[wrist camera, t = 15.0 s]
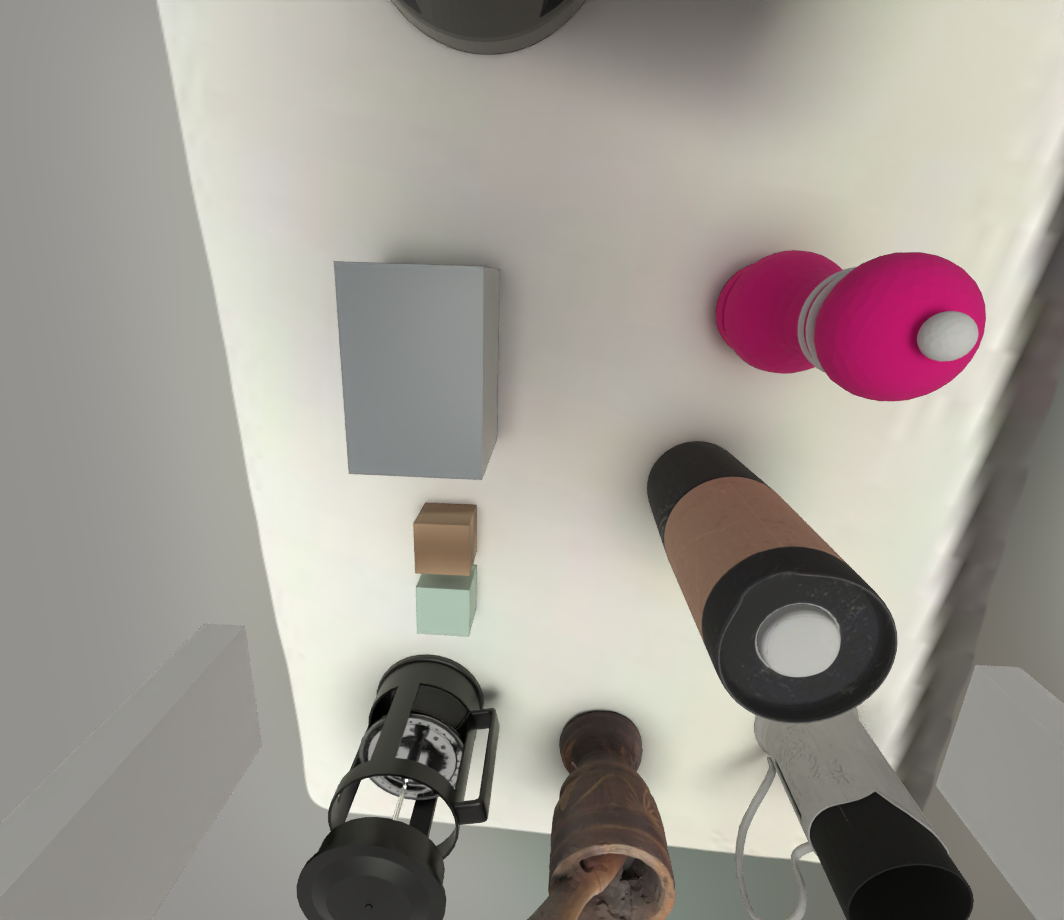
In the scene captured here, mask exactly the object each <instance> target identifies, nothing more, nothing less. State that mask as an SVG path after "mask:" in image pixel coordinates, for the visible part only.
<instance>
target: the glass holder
mask: <svg viewBox="0 0 1064 920" xmlns="http://www.w3.org/2000/svg"><path fill="white" fill-rule="evenodd" d="M754 732H755V736H756V739H757V741H758V743H759V745H760V746H761V748H762V749H763V750H764V751H765V752H766V753H767V754H768V755H769V756H770V757H771V758H770V757H768V758H767V760H768V763H769V770H768V772H767V774H766V777H765V779H764V780H763V782H762V784H761V786H760V787H759V789H758V791H757V793H756V794H755V796H754V798H753V799H752V801H751V803H750V805H749V807H748V809H747V811H746V813H745V815H744V817H743V819H742V821H741V824H740V826H739V831H738V836H737V842H736V854H735V862H736V875H737V881H738V885H739V889H740V892H741V896H742V899H743V902H744V904H745V906H746V908H747V911H748V913H749V914H750V915H751V916H752V918H753V919H754V920H764V919H762V918H759V917H758V916H757V915H756V914H755V912H754V911H753V909H752V907H751V904H750V902H749V900H748V896H747V892H746V887H745V883H744V877H743V863H742V861H743V851H744V844H745V839H746V834H747V831H748V828H749V826H750V823H751V821H752V819H753V817H754V814H755V812H756V811H757V809H758V807H759V805H760V803H761V802H762V800H763V798H764V797H765V795H766V793H767V791H768V789H769V788H770V786H771V784H772V782H773V779H774V777H775V774H776V771H777V773H778V775H779V777H780V780H781V782H782V784H783V786H784V788H785V791H786V793H787V795H788V797H789V800H790V802H791V804H792V806H793V808H794V811H795V813H796V815H797V817H798V820H799V822H800V824H801V826H802V828H803V831H804V833H805V835H806V837H807V840H808V842H806V843H804V844H801V845H800V846H798V847H796V848H795V849H794V850H793V852H792V855H791V864H792V868H793V871H794V874H795V876H796V880H797V884H798V891H799V897H798V902H797V905H796V908H795V909H794V911H793V913H792V914H791V915H790V916H789V917H787V918H786V919H785V920H801V918H802V917H803V915H804V914H805V909H806V905H807V894H806V888H805V884H804V880H803V878H802V875H801V872H800V870H799V866H798V862H799V859H800V858H801V857H802V856H803V855H805V854H807V853H809V852H812V851H814V853H815V854H816V855H817V856H818V858H819V860H820V862H821V864H822V866H823V869H824V871H825V873H826V875H827V877H828V879H829V881H830V884H831V886H832V888H833V891H834V893H835V895H836V897H837V899H838V902H839V904H840V906H841V908H842V910H843V913H844V915H845V917H846V919H847V920H967V919H968V918H969V916H970V914H971V911H972V909H973V902H974V900H973V894H972V891H971V888H970V886H969V885H968V883H967V882H966V880H965V879H964V877H963V876H962V874H961V873H960V871H959V870H958V869H957V867H956V866H955V864H954V863H953V861H952V860H951V858H950V857H949V855H948V854H949V850H948V849H947V847H946V846H945V844H944V843H943V842H942V840H941V839H940V837H939V836H938V834H937V833H936V831H935V830H934V829H933V827H932V826H931V824H930V823H929V822H928V820H927V819H926V817H925V815H924V814H923V813H922V811H921V810H920V808H919V807H918V805H917V804H916V802H915V801H914V800H913V798H912V797H911V795H910V794H909V792H908V791H907V789H906V788H905V786H904V785H903V784H902V782H901V781H900V779H899V778H898V776H897V775H896V773H895V772H894V770H893V769H892V768H891V766H890V765H889V763H888V762H887V760H886V759H885V757H884V756H883V755H882V753H881V752H880V750H879V749H878V747H877V746H876V744H875V743H874V741H873V740H872V739H871V737H870V736H869V734H868V733H867V731H866V730H865V728H864V727H863V726H862V724H861V723H860V721H859V719H858V713H857V709H856V707H855V708H853V709H852V710H850V711H848V712H846V713H844V714H841V715H839V716H836V717H833V718H831V719H827V720H823V721H819V722H813V723H802V724H792V723H782V722H775V721H772V720H768V719H765V718H762V717H760V716H757V715H756V718H755V723H754ZM775 768H776V769H775Z"/></svg>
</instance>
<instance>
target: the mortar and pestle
mask: <svg viewBox="0 0 1064 920" xmlns="http://www.w3.org/2000/svg"><path fill="white" fill-rule="evenodd" d="M559 746H560V753H561V757H562V761H563V763H564V766H565V768H566V769H567V771H568V772H569V773H570V775H569V776H568V777H567V779H566V780H565V782H564V783H563V785H562V787H561V790H560V796H559V801H558V803H557V805H556V807H555V810H554V815H553V822H552V832H551V853H550V865H549V869H550V873H549V889H548V891H549V896H548V898H547V899H546V900H545V901H544V903H543V904H542V905H541V906H540V907H539V908H538V909H537V910H536V911H535V912H534V913H533V914H532V916H530V917H529V919H527V920H665V919H666V918H667V916H668V915H669V913H670V912H671V910H672V908H673V905H674V902H675V896H676V892H675V882H674V876H673V871H672V866H671V861H670V857H669V853H668V849H667V842H666V837H665V832H664V827H663V824H662V820H661V816H660V813H659V811H658V808H657V805H656V803H655V800H654V798H653V797H652V795H651V793H650V791H649V788H648V787H647V785H646V783H645V782H644V780H643V779H642V778H641V777H640V776H639V774H638V773H637V772H636V771H637V769H638V767H639V765H640V762H641V756H642V751H643V750H642V742H641V736H640V734H639V732H638V730H637V728H636V727H635V725H634V724H633V723H632V722H631V721H630V720H628V719H627V718H626V717H624V716H622V715H619V714H616V713H612V712H592V713H587V714H584V715H581V716H579V717H577V718H576V719H574V720H573V721H572V722H570V723H569V724H568V725H567V726H566V727H565V728H564V730H563V732H562V734H561V737H560V744H559Z"/></svg>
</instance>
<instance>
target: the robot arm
mask: <svg viewBox="0 0 1064 920" xmlns="http://www.w3.org/2000/svg"><path fill="white" fill-rule="evenodd" d="M391 1H392V2H393V3H394V5H395V6H396V7H397V8H398V9H399V11H400V12H401V13H402V14H403V15H404V16H405V17H406V18H407V19H408V20H409V21H410V22H411V23H412V24H413V25H415V26H416V27H417V28H418V29H420V30H421V31H422V32H424V33H425V34H426V35H428V36H430V37H431V38H433V39H435V40H436V41H438V42H440V43H442V44H445V45H447V46H449V47H452V48H455V49H458V50H462V51H466V52H471V53H477V54H499V53H507V52H512V51H516V50H519V49H523V48H525V47H528V46H530V45H533V44H535V43H537V42H539V41H541V40H542V39H544V38H546V37H548V36H549V35H551V34H552V33H553V32H555V31H556V30H558V29H559V28H560V27H561V26H562V25H564V24H565V23H566V22H567V21H568V20H569V19H570V18H571V17H572V16H573V15H574V14H575V13H576V12H577V10H578V9H579V8H580V7H581V6H582V4H583V3H584V2H585V0H391ZM261 746H262V742H261V735H260V728H259V721H258V714H257V707H256V700H255V693H254V686H253V679H252V672H251V665H250V658H249V651H248V644H247V637H246V630H245V626H237V625H218V624H203V625H202V626H201V627H200V628H199V629H198V630H197V631H196V632H195V633H194V634H193V635H192V636H191V637H190V638H189V639H188V640H187V641H186V642H185V643H184V644H183V645H182V646H181V647H179V648H178V649H177V650H176V651H175V652H174V653H173V654H172V655H171V656H170V657H169V658H168V659H167V660H166V661H165V662H164V663H163V664H162V665H161V666H160V667H159V668H158V669H157V670H156V671H155V672H154V673H153V674H152V675H151V676H150V677H149V678H148V679H147V680H146V681H145V682H144V683H143V684H142V685H141V686H140V687H138V689H137V690H135V691H134V692H133V693H132V694H131V695H130V696H129V697H128V698H127V699H126V700H125V701H124V702H123V703H122V704H121V705H120V706H119V707H118V708H117V709H116V710H115V711H114V712H113V713H112V714H111V715H110V716H109V717H108V718H107V719H106V720H105V721H104V722H103V723H102V724H101V725H100V726H98V728H97V729H95V730H94V731H93V732H92V733H91V734H90V735H89V736H88V737H87V738H86V739H85V740H84V741H83V742H82V743H81V744H80V745H79V746H78V747H77V748H76V749H75V750H74V751H73V752H72V753H71V754H70V755H69V756H68V757H67V758H66V759H65V760H64V761H63V762H62V763H61V764H60V765H59V766H57V768H56V769H55V770H53V771H52V772H51V773H50V774H49V775H48V776H47V777H46V778H45V779H44V780H43V781H42V782H41V783H40V784H39V785H38V786H37V787H36V788H35V789H34V790H33V791H32V792H31V793H30V794H29V795H28V796H27V797H26V798H25V799H24V800H23V801H22V802H21V803H20V804H19V805H18V806H16V808H14V809H13V810H12V811H11V812H10V813H9V814H8V815H7V816H6V817H5V818H4V819H3V820H2V821H1V822H0V920H152V919H153V917H154V916H155V914H156V913H157V911H158V909H159V908H160V906H161V905H162V903H163V901H164V900H165V898H166V897H167V895H168V894H169V892H170V890H171V889H172V887H173V886H174V884H175V882H176V881H177V879H178V878H179V876H180V874H181V873H182V871H183V870H184V868H185V867H186V865H187V863H188V862H189V860H190V858H191V857H192V855H193V854H194V852H195V851H196V849H197V847H198V846H199V844H200V843H201V841H202V840H203V838H204V836H205V835H206V833H207V832H208V830H209V829H210V827H211V825H212V824H213V822H214V821H215V819H216V818H217V816H218V814H219V813H220V811H221V810H222V808H223V806H224V805H225V803H226V802H227V800H228V799H229V797H230V795H231V794H232V792H233V791H234V789H235V787H236V786H237V784H238V783H239V781H240V780H241V778H242V776H243V775H244V773H245V771H246V770H247V768H248V767H249V765H250V764H251V762H252V760H253V759H254V757H255V755H256V754H257V753H258V751H259V749H260V748H261ZM936 787H937V788H938V789H939V791H940V792H941V793H942V795H943V796H944V797H945V799H946V800H947V801H948V802H949V804H950V805H951V806H952V808H953V809H954V810H955V812H956V813H957V814H958V816H959V817H960V818H961V820H962V821H963V822H964V824H965V825H966V826H967V828H968V829H969V830H970V832H971V833H972V834H973V836H974V837H975V838H976V840H977V841H978V842H979V844H980V845H981V846H982V848H983V849H984V850H985V851H986V853H987V854H988V856H989V857H990V858H991V860H992V861H993V862H994V863H995V865H996V866H997V868H998V869H999V870H1000V872H1001V873H1002V874H1003V876H1004V877H1005V878H1006V880H1007V881H1008V882H1009V884H1010V885H1011V886H1012V888H1013V889H1014V890H1015V891H1016V893H1017V894H1018V895H1019V897H1020V898H1021V899H1022V901H1023V902H1024V904H1025V905H1026V906H1027V907H1028V909H1029V910H1030V911H1031V913H1032V914H1033V915H1034V917H1035V918H1036V919H1037V920H1064V704H1063V703H1062V702H1061V701H1059V700H1058V699H1057V698H1056V697H1054V696H1053V695H1052V694H1051V693H1050V692H1049V691H1047V690H1046V689H1045V688H1044V687H1042V686H1041V685H1040V684H1039V683H1038V682H1037V681H1035V680H1034V679H1033V678H1032V677H1031V676H1029V675H1028V674H1027V673H1026V672H1025V671H1023V670H1022V669H1021V668H1020V667H1019V668H1018V667H1000V666H983V665H976V666H975V668H974V671H973V674H972V677H971V681H970V684H969V687H968V690H967V693H966V696H965V699H964V702H963V705H962V708H961V711H960V714H959V717H958V720H957V723H956V726H955V729H954V732H953V735H952V738H951V741H950V744H949V747H948V750H947V754H946V756H945V759H944V763H943V766H942V769H941V772H940V775H939V778H938V781H937V784H936Z"/></svg>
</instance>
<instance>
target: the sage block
mask: <svg viewBox="0 0 1064 920" xmlns="http://www.w3.org/2000/svg"><path fill="white" fill-rule="evenodd" d="M476 573H477V565H472V569H471V572H470V576H465V575H442V574H422V575H421V577H420V579H419V582H418V584H417V586H416V612H417V633H418V634H434V635H451V636H468V637H469V635H470V631H471V627H472V623H473V619H474V614H475V610H476Z"/></svg>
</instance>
